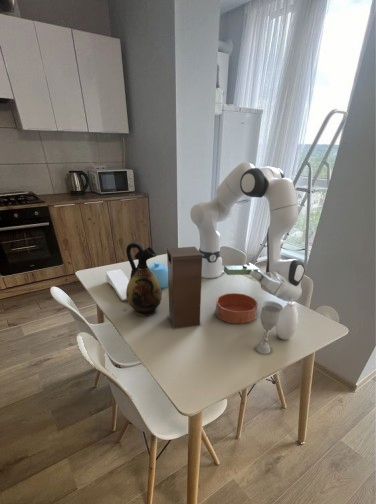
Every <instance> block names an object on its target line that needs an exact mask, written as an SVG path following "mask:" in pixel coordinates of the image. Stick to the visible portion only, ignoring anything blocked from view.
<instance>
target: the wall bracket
mask: <svg viewBox="0 0 376 504" xmlns="http://www.w3.org/2000/svg"><path fill="white" fill-rule="evenodd" d="M105 280H106V281H107V283H108V284H109V285H110V286H112V288H113V290H114V291H115V292H116V294H117V295H118V297H119V299H120V300H121V301H127V298H126V289H127V286H128V283H129V280H130V279H129V278H128V277H127V275H126V274H125V272H124V271H123V270H122V269H121V268H120V269H114V270H108V271H105Z"/></svg>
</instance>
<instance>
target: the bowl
mask: <svg viewBox="0 0 376 504" xmlns="http://www.w3.org/2000/svg"><path fill="white" fill-rule="evenodd" d="M258 307H259V303H258V301H257V300H256V298H254V297H253V296H250V295H248V294H245V293H239V292H236V293H235V292H231V293H225V294H222V295H220V296H218V297H217V298H216V302H215V315H216V316H217V317H218V318H219V319H220V320H222V321H224V322H227V323H230V324H247V323H249V322H251V321H253V320H254V319H255V320H256V317H257V312H258Z"/></svg>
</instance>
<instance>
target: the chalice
mask: <svg viewBox="0 0 376 504" xmlns="http://www.w3.org/2000/svg"><path fill="white" fill-rule="evenodd" d="M260 307H261V311H260V317H259V318H260V323H261V326H262V329H263V330H265V331H264V333H263V335H264V337H262V339H263V341H262V342H260V343H259V344H258V345H257V347H256V351H257V352H258V353H260V354H265V355H267V354H269V353H271V346H270V345H269V343H268V342H267V341H268V340H269V338H268V336H270V334H269V332H270V331H272V330H273V329H274V328H275V325H276V324H277V322H278V321H279V316H280V312H281V310H282V309H283V308H284V306H283V305H282V304H280V303H278V302H275V301H271V300H270V301H268V300H267V301H263V302H261V303H260Z"/></svg>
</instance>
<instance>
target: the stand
mask: <svg viewBox="0 0 376 504" xmlns="http://www.w3.org/2000/svg"><path fill="white" fill-rule="evenodd" d="M166 259H167V260H166V261H167V264H166V265H167V269H168V287H167V290H168V292H167V294H168V317H169V320H170V322H171V324H172V327H173V329H181V328H185V327H186V328H187V327H194V326H200V325H201V303H202V301H201V299H202V278H203V277H202V254H201V253H200V252H199V249H198V248H197V247H196V246H184V247H183V246H182V247H170V248H169V247H168V248H166Z"/></svg>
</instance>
